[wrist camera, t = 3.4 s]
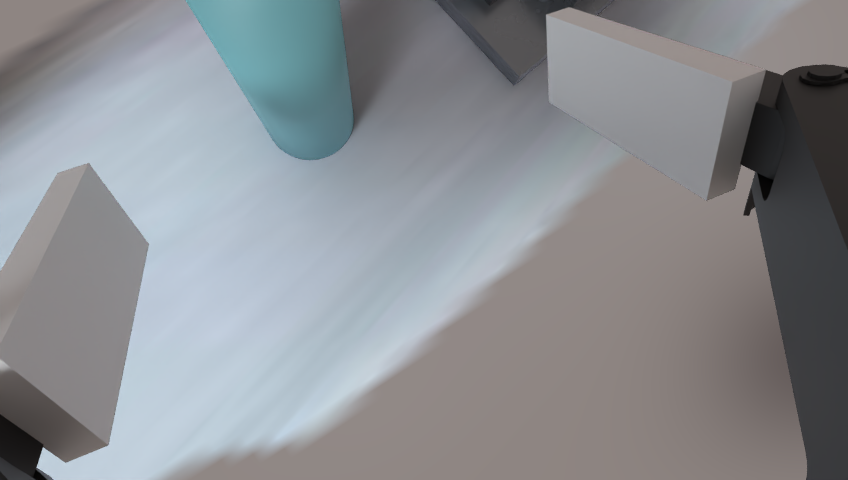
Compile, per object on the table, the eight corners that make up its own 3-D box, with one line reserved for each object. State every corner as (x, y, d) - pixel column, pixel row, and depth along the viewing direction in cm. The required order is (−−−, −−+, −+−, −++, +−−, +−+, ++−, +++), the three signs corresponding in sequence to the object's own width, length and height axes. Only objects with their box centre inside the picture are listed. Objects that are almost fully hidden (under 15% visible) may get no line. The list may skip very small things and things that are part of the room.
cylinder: (274, 166, 24) (175, 31, 12) (259, 85, 24) (150, -122, 13) (361, 151, 25) (346, 7, 13) (344, 72, 25) (315, -138, 13)
